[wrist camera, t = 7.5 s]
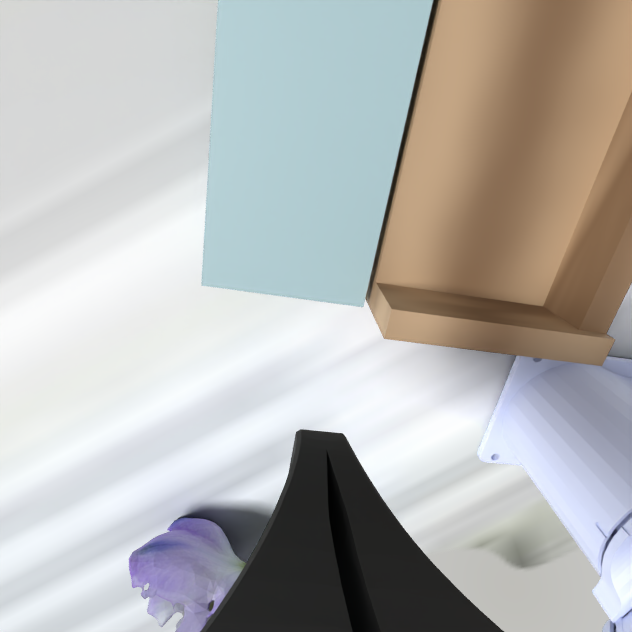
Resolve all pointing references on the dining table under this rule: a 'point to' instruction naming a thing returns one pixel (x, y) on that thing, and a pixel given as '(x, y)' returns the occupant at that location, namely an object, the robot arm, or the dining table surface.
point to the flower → (186, 572)
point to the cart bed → (513, 182)
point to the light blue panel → (306, 141)
